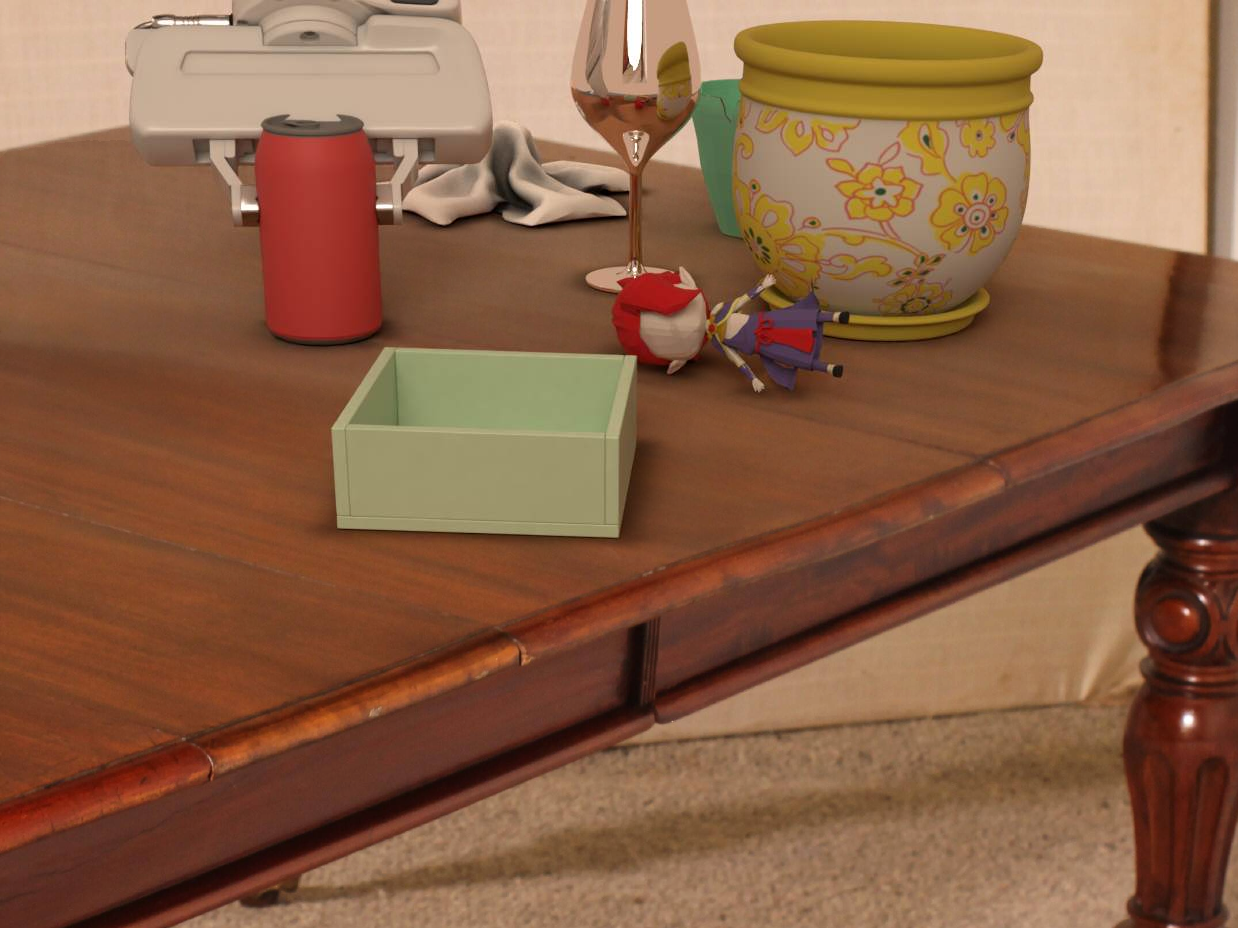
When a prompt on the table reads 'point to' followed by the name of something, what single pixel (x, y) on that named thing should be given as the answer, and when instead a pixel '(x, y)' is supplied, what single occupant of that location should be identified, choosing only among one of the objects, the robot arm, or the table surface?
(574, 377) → the tub
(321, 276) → the beer can
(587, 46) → the wineglass
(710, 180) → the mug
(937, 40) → the flowerpot
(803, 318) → the figurine
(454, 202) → the cloth
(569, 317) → the table surface
